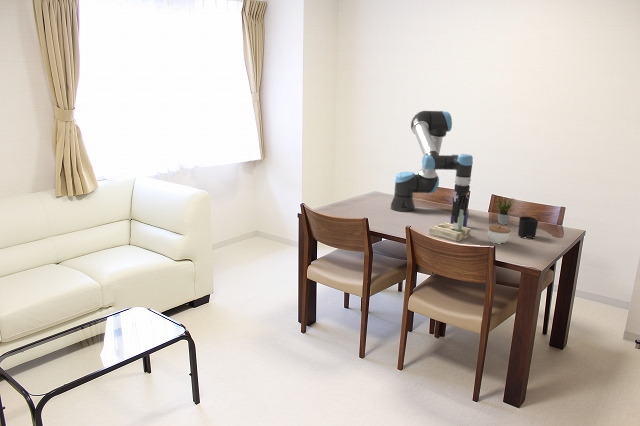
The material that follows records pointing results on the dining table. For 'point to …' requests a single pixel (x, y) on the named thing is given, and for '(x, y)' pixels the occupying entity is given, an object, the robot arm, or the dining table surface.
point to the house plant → (504, 211)
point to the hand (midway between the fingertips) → (457, 227)
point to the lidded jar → (499, 233)
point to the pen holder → (527, 227)
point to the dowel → (460, 221)
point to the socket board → (449, 232)
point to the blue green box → (463, 219)
